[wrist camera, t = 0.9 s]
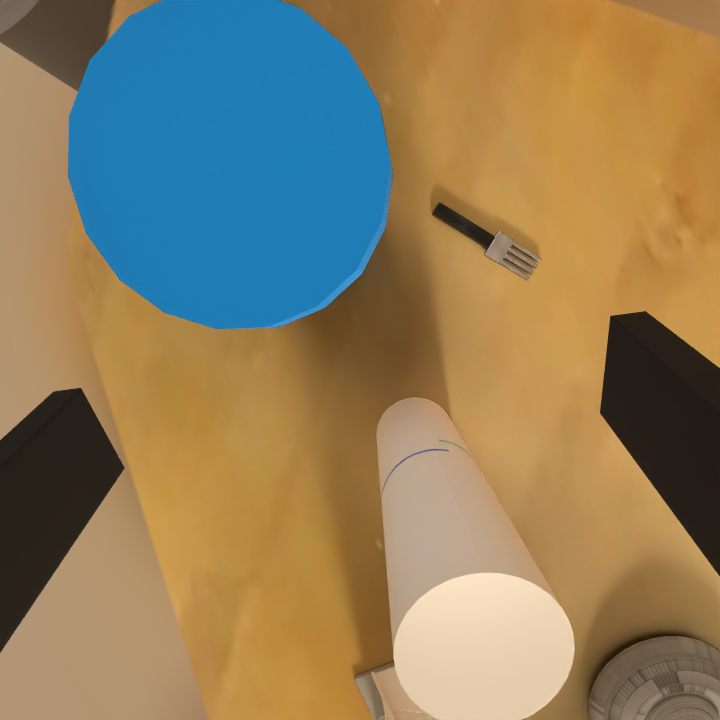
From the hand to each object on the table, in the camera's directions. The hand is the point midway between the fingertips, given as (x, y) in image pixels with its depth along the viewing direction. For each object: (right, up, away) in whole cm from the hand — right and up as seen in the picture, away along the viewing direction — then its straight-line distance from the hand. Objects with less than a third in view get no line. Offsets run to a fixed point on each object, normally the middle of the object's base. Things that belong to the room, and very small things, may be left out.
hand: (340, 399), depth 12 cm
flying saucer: (+31, -33, +36) cm, 58 cm away
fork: (+11, +11, +28) cm, 32 cm away
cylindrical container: (+6, -6, +31) cm, 32 cm away
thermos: (-4, +12, +28) cm, 31 cm away
